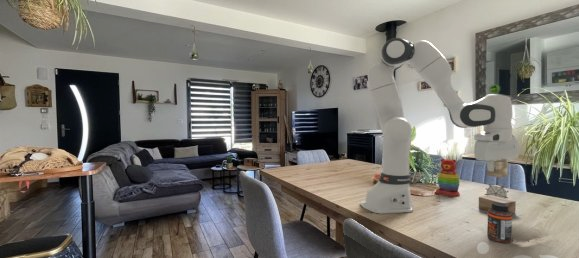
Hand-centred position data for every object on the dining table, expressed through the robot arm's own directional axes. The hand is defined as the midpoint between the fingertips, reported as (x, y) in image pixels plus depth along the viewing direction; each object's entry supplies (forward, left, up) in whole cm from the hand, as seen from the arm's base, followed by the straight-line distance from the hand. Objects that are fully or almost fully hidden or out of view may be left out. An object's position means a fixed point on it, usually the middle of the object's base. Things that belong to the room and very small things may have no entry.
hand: (497, 170), depth 102 cm
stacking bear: (+8, +28, -18) cm, 34 cm away
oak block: (0, 0, -2) cm, 2 cm away
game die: (+17, +11, -18) cm, 27 cm away
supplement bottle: (-22, -15, -18) cm, 32 cm away
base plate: (0, 0, -17) cm, 17 cm away
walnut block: (0, 0, -16) cm, 16 cm away
